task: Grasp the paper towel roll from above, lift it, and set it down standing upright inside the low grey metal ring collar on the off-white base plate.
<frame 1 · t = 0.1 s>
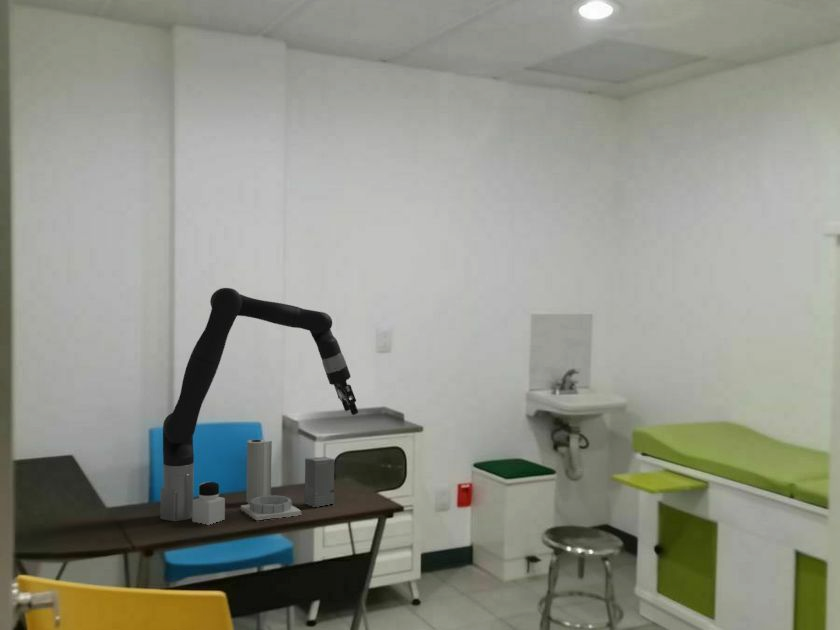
hand: (351, 412, 282), 31 cm above the table, tool tilted 20°, fingers open, 8 cm apart
medicine bottle: (208, 521, 259), on the table
skincare box: (319, 505, 282), on the table
collar socket: (270, 512, 270), on the table
paper towel roll: (256, 504, 281), on the table
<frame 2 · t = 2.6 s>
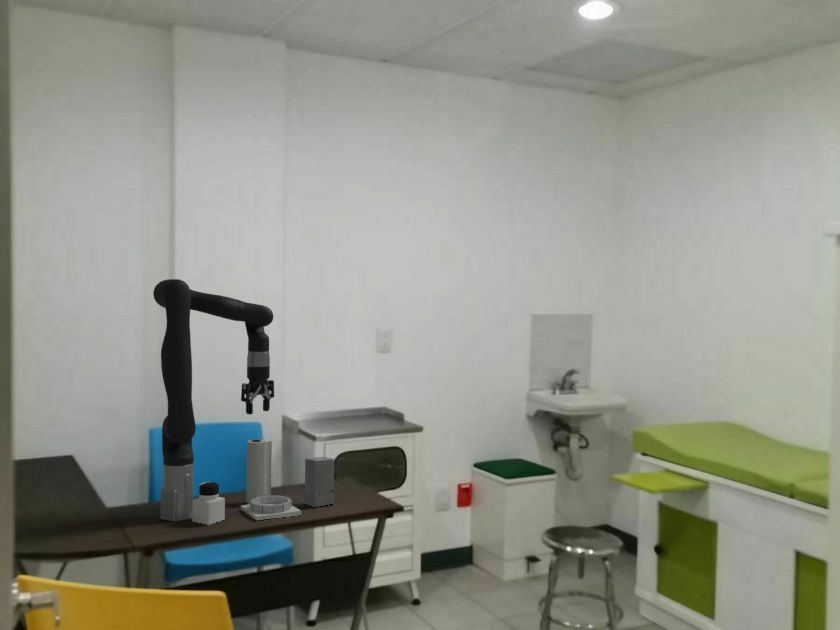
hand: (257, 412, 280), 31 cm above the table, tool pointing down, fingers open, 8 cm apart
nothing on the table moved.
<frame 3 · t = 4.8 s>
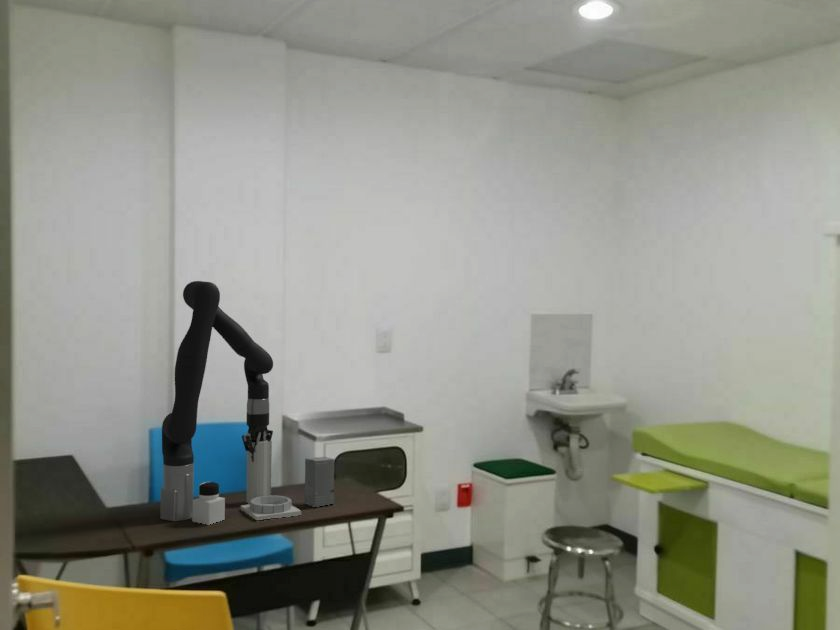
hand: (257, 461, 281), 14 cm above the table, tool pointing down, fingers closed on paper towel roll, 3 cm apart
paper towel roll: (256, 504, 281), on the table, touching gripper
everything else where it was.
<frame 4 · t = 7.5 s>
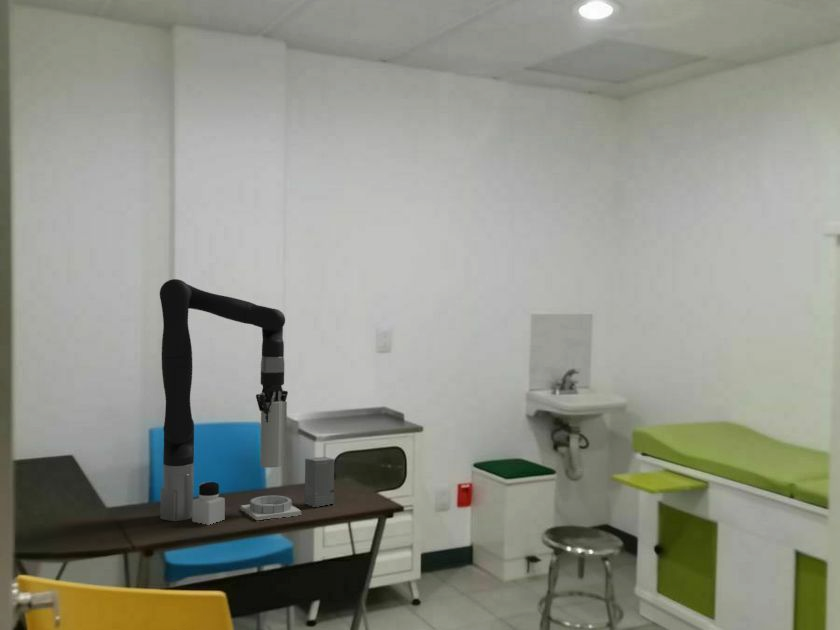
hand: (271, 423, 269), 29 cm above the table, tool pointing down, fingers closed on paper towel roll, 3 cm apart
paper towel roll: (271, 467, 270), point 15 cm above the table, touching gripper
everything else where it was.
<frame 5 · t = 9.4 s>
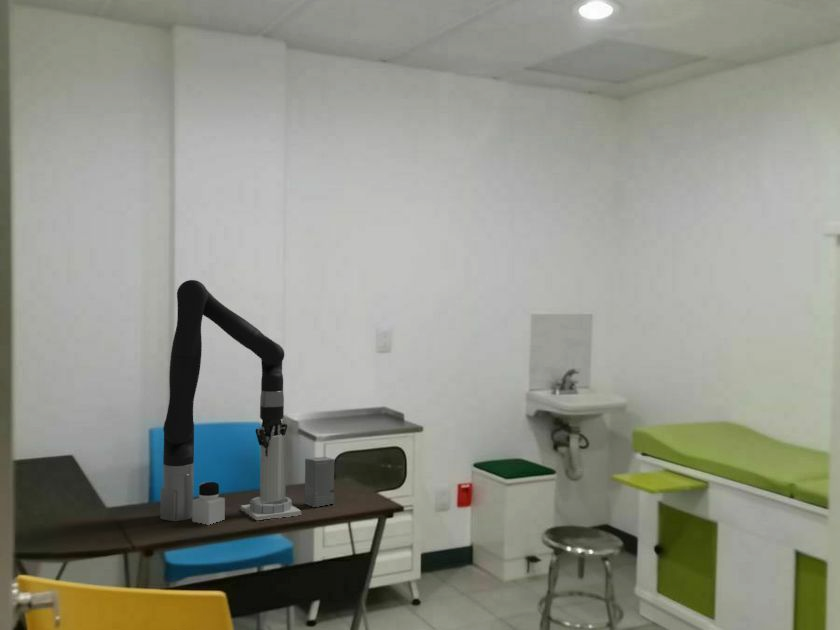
hand: (271, 456, 269), 18 cm above the table, tool pointing down, fingers closed on paper towel roll, 3 cm apart
paper towel roll: (270, 500, 270), point 4 cm above the table, touching gripper
everything else where it was.
when the fingers open (16 cm above the table, at t = 10.6 s): paper towel roll stays where it is, resting on collar socket.
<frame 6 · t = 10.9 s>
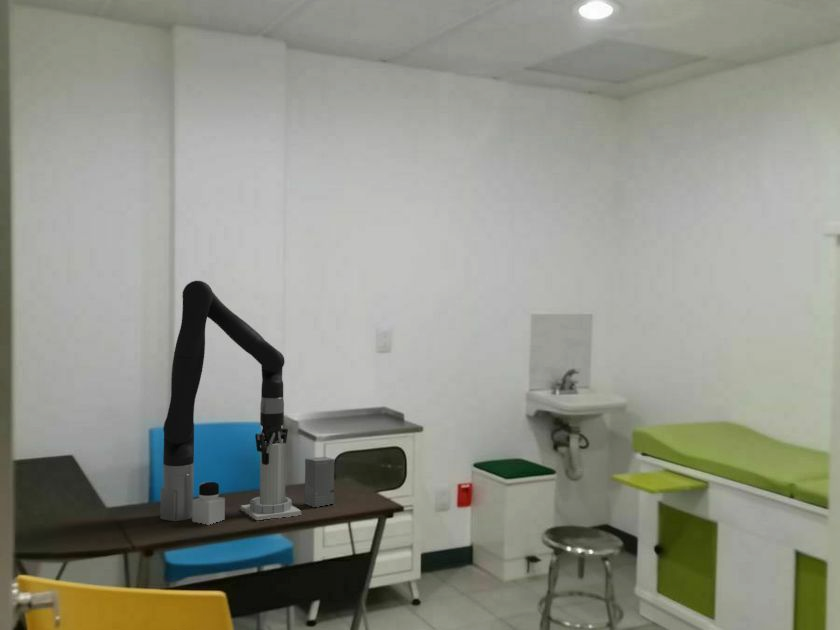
hand: (271, 462, 269), 16 cm above the table, tool pointing down, fingers open, 5 cm apart
paper towel roll: (270, 508, 270), point 1 cm above the table, touching collar socket
everything else where it was.
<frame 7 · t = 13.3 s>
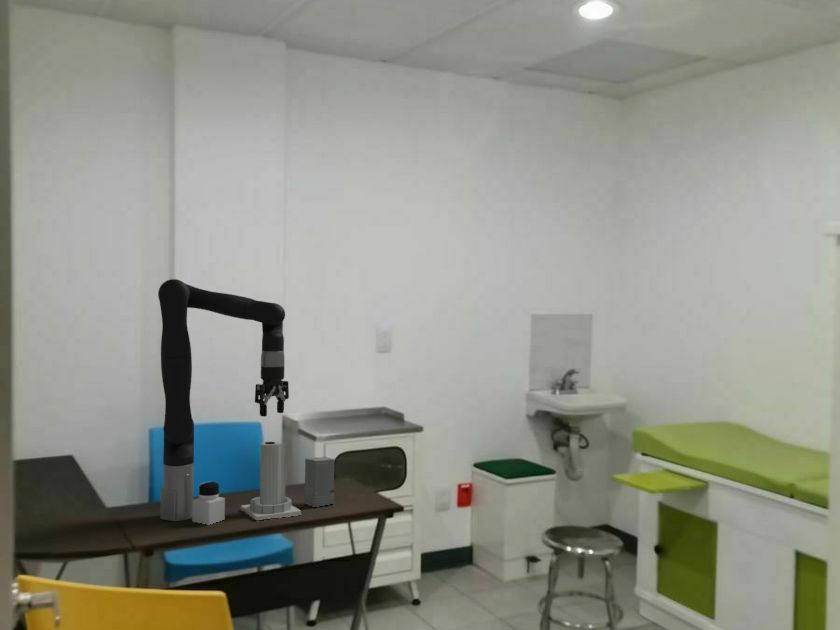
hand: (271, 414, 269), 32 cm above the table, tool pointing down, fingers open, 8 cm apart
nothing on the table moved.
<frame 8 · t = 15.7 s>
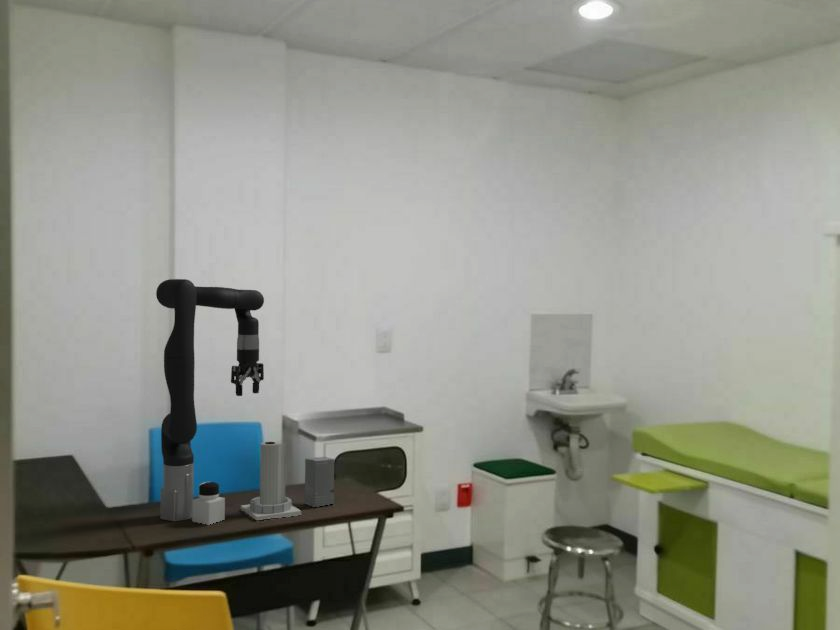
hand: (247, 394, 287), 36 cm above the table, tool pointing down, fingers open, 8 cm apart
nothing on the table moved.
at the end: paper towel roll 0.1 cm off-centre on the collar socket, point 1.3 cm above the collar socket's base; paper towel roll tilted 0°; the gripper is holding nothing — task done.
